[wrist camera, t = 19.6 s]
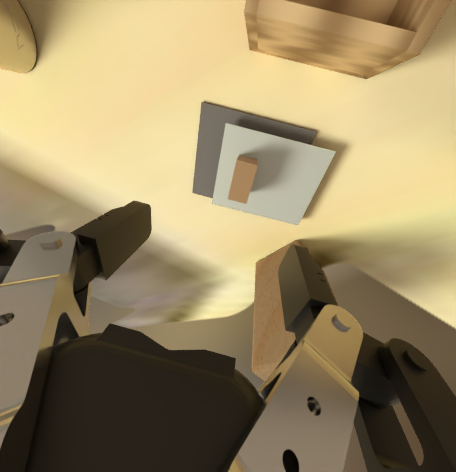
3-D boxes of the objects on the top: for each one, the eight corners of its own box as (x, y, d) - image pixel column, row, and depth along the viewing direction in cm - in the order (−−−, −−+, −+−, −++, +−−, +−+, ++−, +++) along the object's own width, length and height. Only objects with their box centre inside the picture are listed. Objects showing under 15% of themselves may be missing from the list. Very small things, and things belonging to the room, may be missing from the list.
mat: (193, 192, 31) (192, 192, 30) (202, 102, 24) (201, 101, 23) (279, 215, 30) (280, 216, 30) (315, 131, 23) (316, 131, 23)
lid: (214, 198, 30) (205, 215, 25) (227, 123, 24) (220, 122, 18) (295, 219, 30) (304, 240, 25) (329, 149, 24) (352, 156, 19)
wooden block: (297, 238, 32) (335, 356, 16) (324, 271, 35) (380, 400, 19) (255, 261, 37) (249, 372, 20) (281, 289, 40) (296, 405, 23)
